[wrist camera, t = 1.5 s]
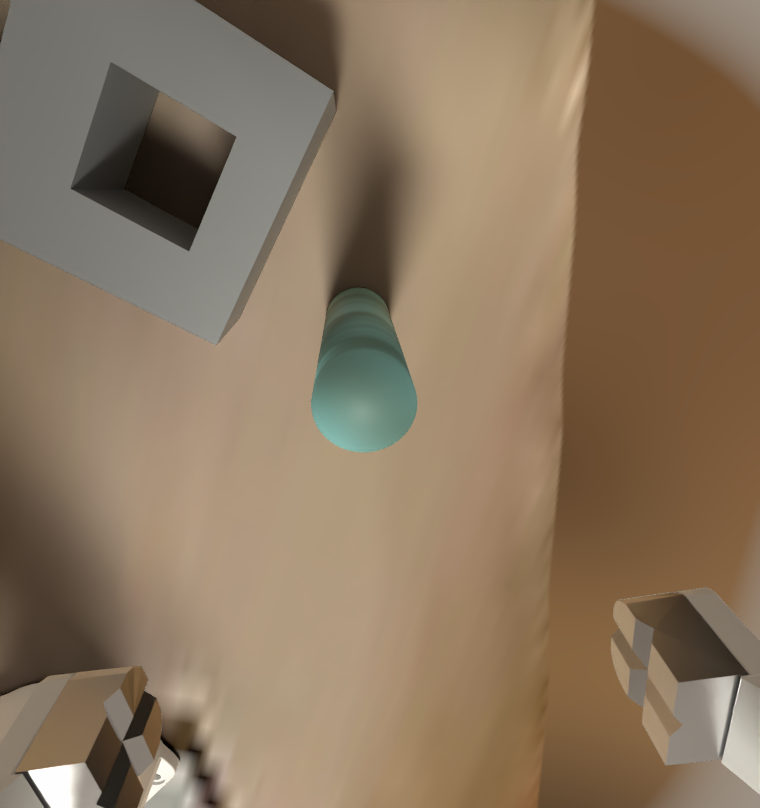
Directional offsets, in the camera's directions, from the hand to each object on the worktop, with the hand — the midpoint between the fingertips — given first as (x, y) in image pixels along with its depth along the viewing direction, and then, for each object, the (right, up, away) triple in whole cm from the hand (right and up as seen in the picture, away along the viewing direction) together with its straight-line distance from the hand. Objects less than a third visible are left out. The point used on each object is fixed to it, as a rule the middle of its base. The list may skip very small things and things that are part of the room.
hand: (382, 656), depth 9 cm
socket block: (-15, +20, +18) cm, 31 cm away
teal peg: (-1, +10, +23) cm, 25 cm away
